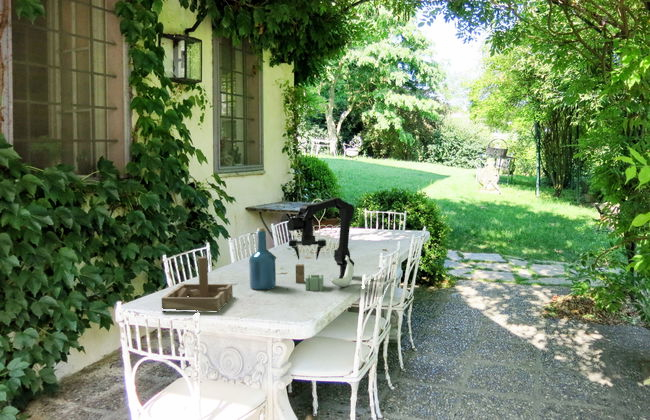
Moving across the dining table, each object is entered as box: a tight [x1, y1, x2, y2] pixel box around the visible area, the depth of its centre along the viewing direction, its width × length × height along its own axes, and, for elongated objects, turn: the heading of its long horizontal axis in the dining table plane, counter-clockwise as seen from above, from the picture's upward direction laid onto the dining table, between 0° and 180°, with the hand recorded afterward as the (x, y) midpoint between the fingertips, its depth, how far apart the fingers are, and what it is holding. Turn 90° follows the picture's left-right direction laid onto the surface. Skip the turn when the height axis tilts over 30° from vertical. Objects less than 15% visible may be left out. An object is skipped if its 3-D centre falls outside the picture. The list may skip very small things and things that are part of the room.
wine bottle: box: [248, 227, 277, 291], centre depth 288 cm, size 14×13×30 cm
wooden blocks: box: [176, 256, 229, 304], centre depth 257 cm, size 17×20×20 cm
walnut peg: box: [295, 263, 305, 284], centre depth 299 cm, size 4×4×9 cm
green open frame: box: [305, 274, 324, 292], centre depth 285 cm, size 8×8×6 cm
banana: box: [330, 255, 355, 288], centre depth 288 cm, size 5×19×15 cm, turn 153°
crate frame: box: [161, 283, 234, 312], centre depth 258 cm, size 27×24×6 cm
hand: (307, 259), depth 294 cm, fingers open, 9 cm apart
